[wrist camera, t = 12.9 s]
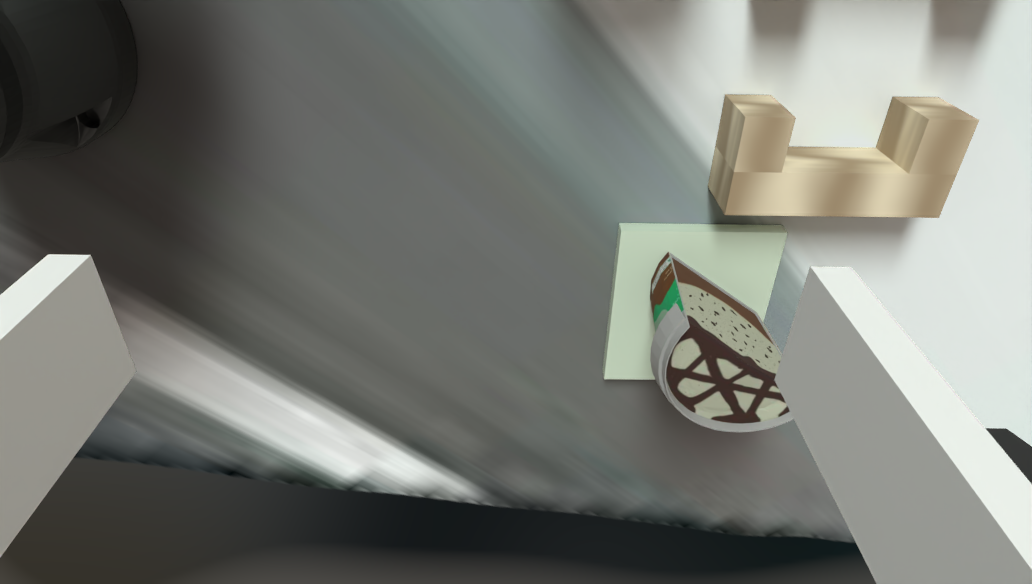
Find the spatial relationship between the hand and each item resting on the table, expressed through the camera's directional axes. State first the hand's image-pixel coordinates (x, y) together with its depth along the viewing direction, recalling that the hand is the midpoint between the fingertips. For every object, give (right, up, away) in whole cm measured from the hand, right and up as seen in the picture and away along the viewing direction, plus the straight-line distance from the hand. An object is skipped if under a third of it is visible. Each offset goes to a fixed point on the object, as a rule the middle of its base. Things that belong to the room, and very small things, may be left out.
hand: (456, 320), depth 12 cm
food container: (+14, -1, +38) cm, 41 cm away
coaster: (+15, 0, +39) cm, 42 cm away
